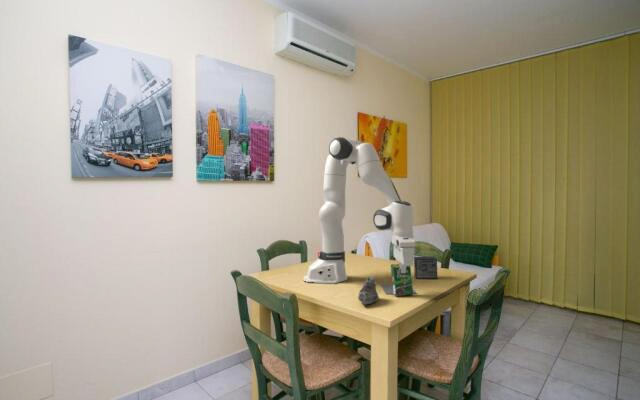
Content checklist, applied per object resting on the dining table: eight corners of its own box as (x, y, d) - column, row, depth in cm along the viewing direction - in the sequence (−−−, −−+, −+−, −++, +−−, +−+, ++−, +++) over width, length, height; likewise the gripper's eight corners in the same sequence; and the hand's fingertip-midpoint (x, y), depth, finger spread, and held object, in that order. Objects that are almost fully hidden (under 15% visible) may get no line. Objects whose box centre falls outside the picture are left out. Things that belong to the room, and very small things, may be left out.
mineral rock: (363, 308, 129) (363, 282, 129) (345, 301, 138) (345, 276, 138) (387, 302, 136) (387, 277, 136) (369, 295, 145) (369, 272, 145)
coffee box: (395, 295, 142) (392, 263, 145) (392, 295, 145) (390, 263, 148) (413, 294, 143) (410, 263, 146) (410, 294, 146) (408, 263, 149)
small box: (434, 276, 177) (434, 256, 176) (437, 279, 170) (437, 258, 170) (413, 276, 178) (413, 255, 177) (416, 279, 171) (416, 258, 171)
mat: (386, 294, 146) (386, 293, 146) (380, 285, 160) (380, 284, 160) (416, 293, 146) (416, 293, 146) (408, 285, 160) (408, 284, 160)
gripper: (389, 236, 153) (390, 267, 153) (400, 243, 133) (400, 278, 133) (403, 236, 153) (404, 267, 153) (416, 243, 133) (417, 278, 133)
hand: (402, 272), depth 143 cm, fingers closed
